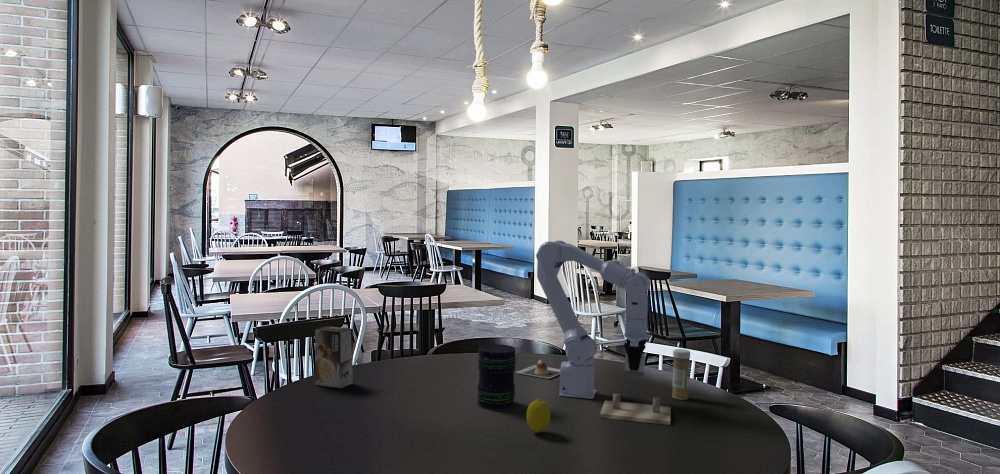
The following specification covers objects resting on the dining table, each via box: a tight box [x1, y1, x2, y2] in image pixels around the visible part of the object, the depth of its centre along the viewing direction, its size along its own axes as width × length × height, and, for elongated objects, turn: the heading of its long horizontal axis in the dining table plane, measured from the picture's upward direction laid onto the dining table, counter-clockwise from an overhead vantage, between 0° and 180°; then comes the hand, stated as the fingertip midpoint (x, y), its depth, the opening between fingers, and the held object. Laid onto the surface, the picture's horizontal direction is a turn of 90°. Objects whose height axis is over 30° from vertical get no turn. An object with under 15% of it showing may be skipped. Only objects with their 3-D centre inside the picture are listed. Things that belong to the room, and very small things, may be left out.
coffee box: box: [314, 325, 354, 389], centre depth 187 cm, size 9×6×16 cm
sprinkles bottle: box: [671, 348, 691, 401], centre depth 182 cm, size 5×5×14 cm
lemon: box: [526, 398, 551, 434], centre depth 151 cm, size 6×6×8 cm
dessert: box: [515, 359, 560, 380], centre depth 207 cm, size 12×12×5 cm
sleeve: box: [624, 352, 646, 377], centre depth 177 cm, size 5×5×5 cm
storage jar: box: [477, 343, 517, 411], centre depth 172 cm, size 10×10×15 cm
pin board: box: [599, 393, 672, 426], centre depth 167 cm, size 17×12×4 cm
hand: (634, 367), depth 177 cm, fingers closed on sleeve, 5 cm apart
